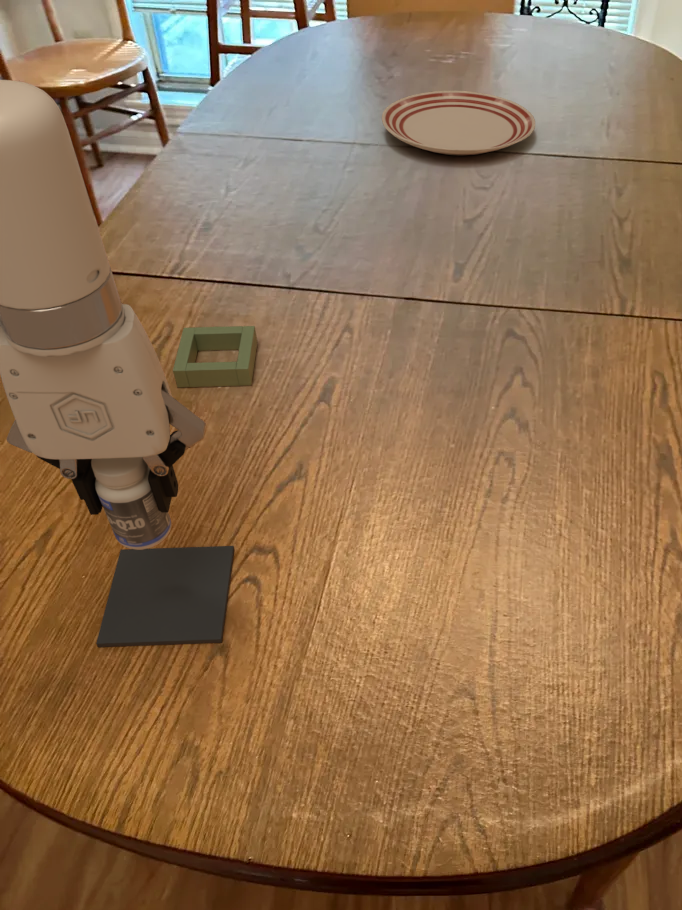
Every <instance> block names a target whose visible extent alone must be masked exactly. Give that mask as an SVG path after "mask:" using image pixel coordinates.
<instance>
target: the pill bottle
mask: <svg viewBox="0 0 682 910" xmlns="http://www.w3.org/2000/svg"><path fill="white" fill-rule="evenodd" d="M91 466H92V469H93V472H94V475H95V477H96V480H95V488H96V492H97V494H98V497H99V499H100V501H101V504H102V506H103V507H102V509H103V511H104V513H105V516H106V518H107V520H108V522H109V525H110V527H111V531H112V533H113V535H114V537H115V539H116V541H117V543H119V544H120V545H121V546H123V547H125V548H126V549H135V550H143V549H151V548H155V547H156V546H158V545H159V544H161V543H162V542H163V541H165V540H166V538H168V536H169V534H170V532H171V530H172V520H171V515H170V513H169V512H164V513H161V511H159V510H158V508H157V505H156V502H155V499H154V496H153V493H152V491H151V488H150V485H149V482H148V475H149V471H150V468H149V467H148V465H147V464H146V462H145V461H144V460H143V458H142V457H133V458H103V459H92V460H91Z"/></svg>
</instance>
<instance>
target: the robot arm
mask: <svg viewBox="0 0 682 910" xmlns="http://www.w3.org/2000/svg"><path fill="white" fill-rule="evenodd" d="M70 134H71V133H70V131H69V128H68V126H67V123H66V120H65V118H64V115H63V113H62V111H61V109H60V107H59V106H58V103H57V102H56V101H55V100H54V99H53V98H52V97H51V96H50V95H49V94H48V93H47V92H46V91H45V90H43V89H42V88H39V87H38V86H35V85H34V84H32V83H28V82H24V81H20V80H19V81H18V80H11V79H10V80H9V79H0V379H1V383H2V386H3V389H4V393H5V395H6V398H7V401H8V404H9V406H10V407H9V408H10V409H11V413H12V414H13V418H14V421H13V423H12V425H11V426H10V429H9V432H8V434H7V436H6V442H7V443H8V444H9V445H11V446H14V447H16V448H19V449H21V450H23V451H26V452H28V453H30V454H33V455H35V456H36V458H38V459H39V460H41V461H43V462H45V463H47V464H49V465H51V466H53V467H55V468H57V469H58V470H59V472H60V475H61V476H62V477H63V478H65V479H68V480H71V482H72V484H73V486H74V489H75V491H76V493H77V496H78V498H79V499H80V500H81V501H84V503H85V505H86V508H87V510H88V512H89V514H90V515H91V516H95V515H97V516H98V515H99V514H100V513H102V510H103V506H102V504H101V501H100V499H99V497H98V494H97V492H96V488H95V480H96V477H95V475H94V472H93V469H92V466H91V460H92V459H103V458H133V457H142V458H143V460H144V461H145V462H146V464H147V465H148V467H149V468H150V471H149V475H148V482H149V485H150V488H151V491H152V493H153V496H154V499H155V502H156V505H157V508H158V510H159V511H161V513H164V512H168V513H169V512H170V508H171V504H172V503H171V502H172V498H177V497H178V493H179V481H178V479H177V475H176V471H175V468H174V466H173V465H175V463H177V462H178V460H180V459H181V458H182V457H183V456H184V454H185V453H186V452H185V451H187V450H188V449H191V448H193V447H194V446H196V445H197V444H198V443H199V442H201V441H202V440H203V439H205V435H206V429H207V423H206V422H205V420H203V419H202V418H200V417H199V416H198V415H196V414H195V413H194V412H193V411H191V410H190V409H189V408H187V407H186V406H185V405H184V404H183V403H181V402H179V401H178V400H177V399H176V398H174V397H173V394H172V391H171V387H170V385H169V382H168V380H167V376H166V374H165V371H164V369H163V366H162V364H161V361H160V359H159V356H158V354H157V352H156V349H155V347H154V345H153V343H152V341H151V339H150V336H149V335H148V333H147V331H146V329H145V327H144V325H143V324H142V322H141V320H140V319H139V317H138V316H137V313H136V312H135V310H134V309H133V307H132V306H131V305H130V304H126V303H122V299H121V296H120V294H119V290H118V287H117V284H116V280H115V277H114V274H113V270H112V268H111V264H110V260H109V258H108V254H107V251H106V247H105V245H104V242H103V238H102V234H101V232H100V229H99V225H98V222H97V218H96V215H95V212H94V209H93V205H92V201H91V199H90V196H89V193H88V190H87V187H86V184H85V180H84V176H83V174H82V171H81V167H80V164H79V161H78V157H77V154H76V151H75V148H74V145H73V141H72V138H71V135H70ZM170 426H172V427H173V428H174V429H176V430H174V431H173V432H171V427H170Z"/></svg>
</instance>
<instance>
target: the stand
mask: <svg viewBox="0 0 682 910" xmlns="http://www.w3.org/2000/svg"><path fill="white" fill-rule="evenodd" d="M257 348H258V337H257V332H256V326H255V325H234V326H233V325H231V326H228V325H227V326H197V327H196V326H195V327H194V326H193V327H183V329H182V333H181V337H180V340H179V345H178V348H177V352H176V356H175V360H174V364H173V368H172V374H173V377H174V380H175V384H176V387H177V388H209V387H210V388H212V387H213V388H214V387H241V386H242V387H243V386H252V384H253V375H254V369H255V363H256V356H257ZM236 350H237V351H238V353H237V354H238V355H237V358H236V359H237V360H236V361H210V362H209V361H208V362H207V361H205V362H204V361H203V362H196V361H197V356H198V351H199V352H200V351H202V352H204V351H205V352H207V351H236Z"/></svg>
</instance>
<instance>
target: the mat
mask: <svg viewBox="0 0 682 910" xmlns="http://www.w3.org/2000/svg"><path fill="white" fill-rule="evenodd" d="M234 555H235V546H234V545H215V546H214V545H213V546H212V545H211V546H186V547H185V546H184V547H182V546H181V547H157V548H155V547H151V548H148V549H143V550H135V549H130V548H126V549H125V548H124V549H123V548H122V549H120V550H119V554H118V559H117V562H116V565H115V570H114V574H113V578H112V581H111V585H110V588H109V593H108V596H107V601H106V604H105V607H104V612H103V616H102V620H101V623H100V627H99V632H98V635H97V639H96V641H95V644H96V646H97V648H113V647H115V648H116V647H117V648H118V647H139V646H140V647H141V646H142V647H143V646H145V647H146V646H169V645H172V646H173V645H195V644H221V643H223V637H224V631H225V623H226V616H227V615H226V614H227V607H228V601H229V594H230V586H231V578H232V572H233V563H234V557H235V556H234Z"/></svg>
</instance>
